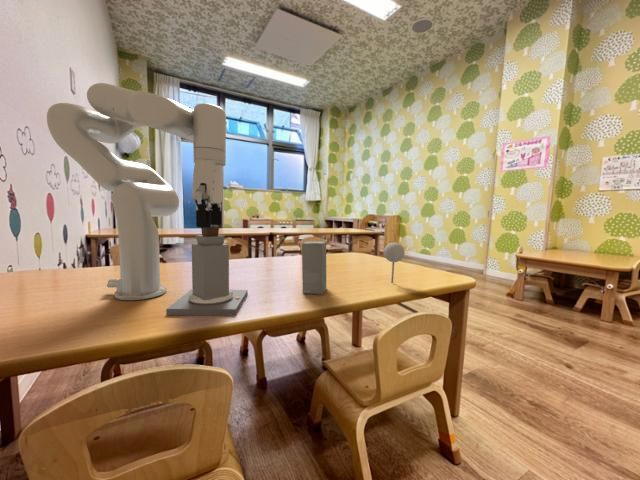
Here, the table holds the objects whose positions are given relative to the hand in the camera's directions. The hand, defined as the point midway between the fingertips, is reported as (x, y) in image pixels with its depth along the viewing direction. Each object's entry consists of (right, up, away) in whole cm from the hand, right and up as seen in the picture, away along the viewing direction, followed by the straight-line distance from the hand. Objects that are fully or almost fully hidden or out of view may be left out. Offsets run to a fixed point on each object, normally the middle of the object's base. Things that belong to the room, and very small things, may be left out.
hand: (209, 226), depth 73 cm
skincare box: (+26, -20, +17) cm, 38 cm away
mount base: (0, -21, +2) cm, 21 cm away
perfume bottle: (-1, -18, +2) cm, 18 cm away
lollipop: (+55, -20, +30) cm, 65 cm away
